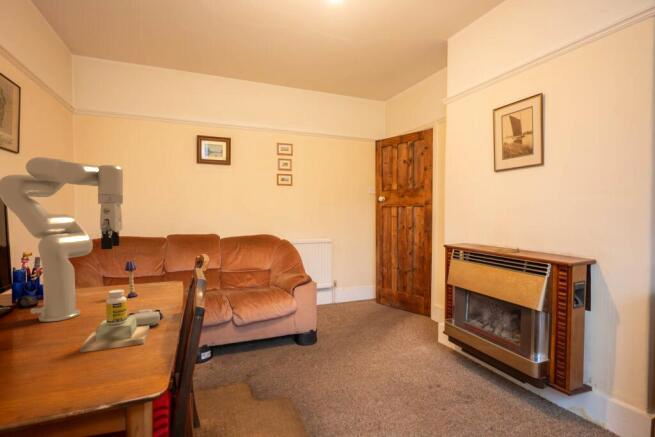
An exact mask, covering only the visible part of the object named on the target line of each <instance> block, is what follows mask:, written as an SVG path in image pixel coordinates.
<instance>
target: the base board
mask: <svg viewBox="0 0 655 437" xmlns="http://www.w3.org/2000/svg"><path fill="white" fill-rule="evenodd" d="M95 329H96V330H95V331H92V332H91V334H90V335H89V336H88V337H87V338H86V340H84V342H83V343H82V345H80V346H79V352H80V353H85V352H93V351H100V350H101V351H102V350H106V349H114V348H123V347H130V346H137V345H143V344H145V343H146V342H145V341H146V339H147V337H148V334H149V332H150V329H151V328H150V326H149V325H143V326H139V327H137V325H136V317H128V316H127V321H126V322H124V323H121V324H116V325H109V324H107V321H106V319H103V321H102V322H101V323H100V324H99V325H98V326H97V328H95Z"/></svg>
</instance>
